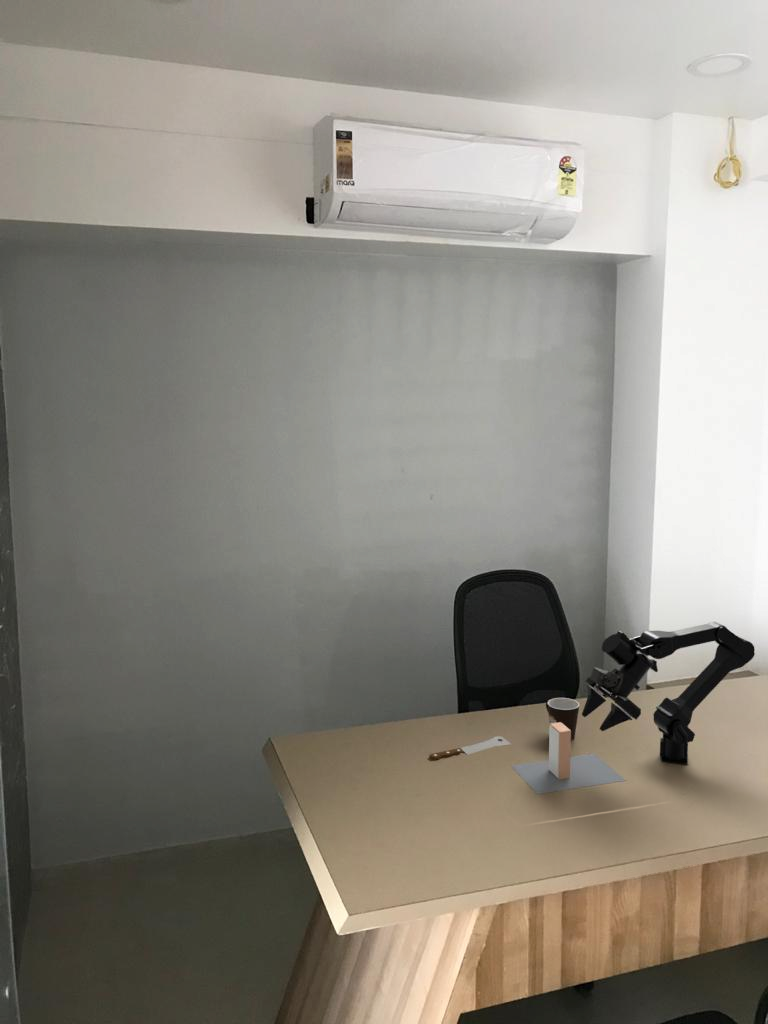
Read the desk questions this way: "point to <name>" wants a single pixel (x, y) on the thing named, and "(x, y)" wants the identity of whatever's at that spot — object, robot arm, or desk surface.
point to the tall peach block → (559, 750)
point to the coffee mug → (563, 713)
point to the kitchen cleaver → (470, 748)
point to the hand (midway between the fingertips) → (591, 722)
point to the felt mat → (582, 774)
